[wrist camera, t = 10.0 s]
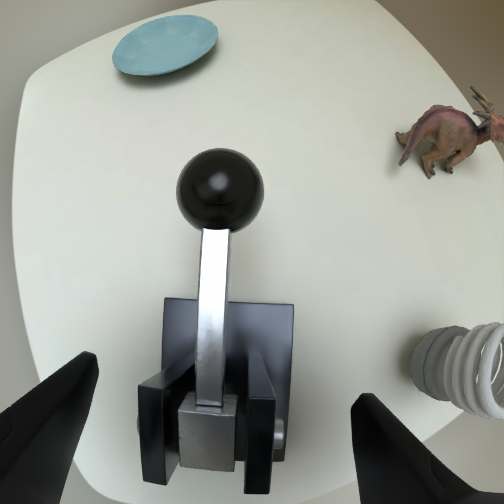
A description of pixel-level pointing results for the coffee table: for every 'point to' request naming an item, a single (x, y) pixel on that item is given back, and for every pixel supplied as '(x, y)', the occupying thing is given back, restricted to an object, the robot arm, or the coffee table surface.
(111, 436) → the coffee table surface
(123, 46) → the saucer
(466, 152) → the dinosaur figurine
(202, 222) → the lever
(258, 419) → the bracket
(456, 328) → the light bulb
